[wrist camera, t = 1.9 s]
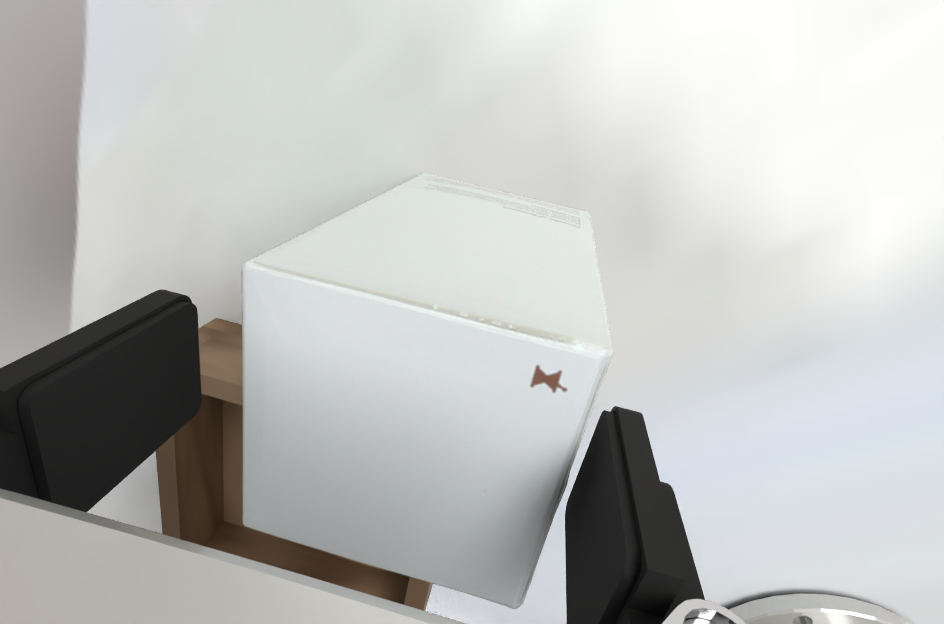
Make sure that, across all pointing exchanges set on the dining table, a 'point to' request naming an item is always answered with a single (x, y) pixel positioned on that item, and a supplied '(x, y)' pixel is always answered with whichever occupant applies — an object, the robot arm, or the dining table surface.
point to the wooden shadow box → (221, 484)
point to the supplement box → (423, 381)
